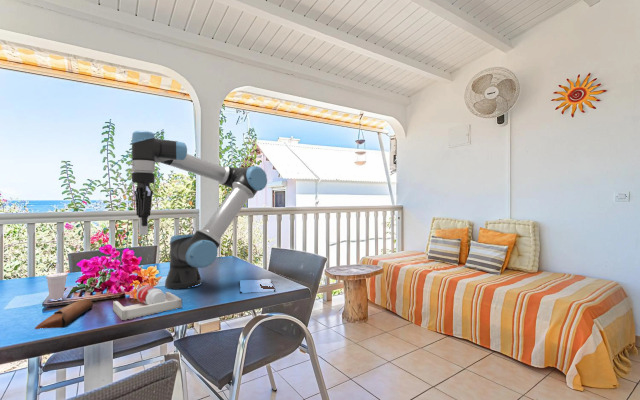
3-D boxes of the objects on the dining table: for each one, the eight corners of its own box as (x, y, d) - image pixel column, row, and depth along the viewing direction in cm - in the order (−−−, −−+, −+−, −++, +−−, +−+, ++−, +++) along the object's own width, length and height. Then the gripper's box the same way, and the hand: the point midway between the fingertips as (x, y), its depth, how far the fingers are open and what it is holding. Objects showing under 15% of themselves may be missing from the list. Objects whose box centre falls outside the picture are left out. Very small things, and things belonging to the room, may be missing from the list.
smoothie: (54, 303, 116) (55, 265, 116) (40, 302, 117) (41, 264, 118) (71, 298, 122) (72, 262, 123) (58, 297, 124) (59, 261, 124)
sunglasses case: (65, 309, 110) (77, 292, 111) (84, 318, 112) (96, 301, 112) (32, 329, 93) (46, 309, 94) (56, 340, 94) (69, 319, 95)
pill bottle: (146, 281, 118) (161, 286, 112) (156, 292, 121) (171, 297, 115) (132, 295, 114) (146, 300, 108) (142, 305, 118) (157, 311, 111)
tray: (168, 299, 123) (168, 291, 123) (181, 308, 114) (181, 299, 114) (113, 310, 110) (113, 301, 110) (122, 320, 101) (123, 311, 101)
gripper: (126, 172, 122) (126, 234, 122) (138, 170, 113) (138, 236, 113) (148, 173, 127) (147, 232, 127) (160, 172, 118) (160, 235, 118)
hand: (143, 234), depth 120 cm, fingers closed
